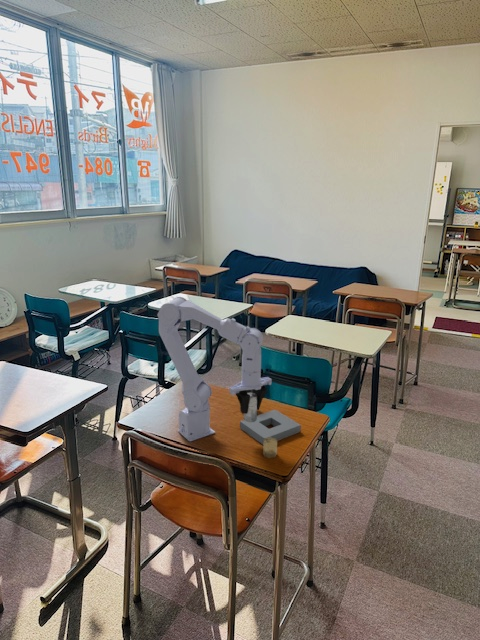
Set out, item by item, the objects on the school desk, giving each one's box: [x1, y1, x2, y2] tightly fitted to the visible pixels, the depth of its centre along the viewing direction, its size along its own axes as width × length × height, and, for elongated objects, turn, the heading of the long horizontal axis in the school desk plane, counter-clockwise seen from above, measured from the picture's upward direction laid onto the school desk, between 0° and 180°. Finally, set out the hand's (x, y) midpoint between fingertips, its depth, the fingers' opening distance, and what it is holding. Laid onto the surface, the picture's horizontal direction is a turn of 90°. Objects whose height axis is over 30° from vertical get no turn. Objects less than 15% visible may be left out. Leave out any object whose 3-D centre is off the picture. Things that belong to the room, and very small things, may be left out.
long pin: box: [243, 393, 258, 422], centre depth 135 cm, size 4×4×8 cm
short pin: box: [262, 437, 278, 459], centre depth 130 cm, size 4×4×4 cm
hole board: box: [239, 409, 302, 446], centre depth 144 cm, size 15×13×2 cm
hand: (250, 410), depth 135 cm, fingers closed on long pin, 4 cm apart
